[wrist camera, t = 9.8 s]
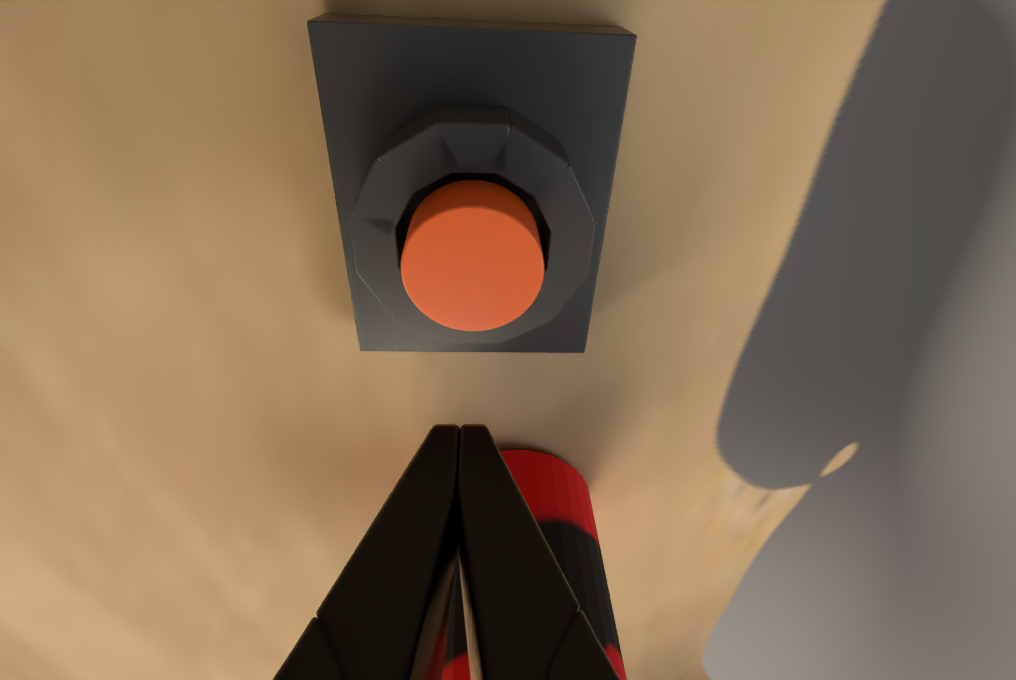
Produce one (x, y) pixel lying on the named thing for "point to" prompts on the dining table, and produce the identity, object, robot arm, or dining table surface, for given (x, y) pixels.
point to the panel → (471, 156)
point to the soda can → (573, 542)
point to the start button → (472, 256)
